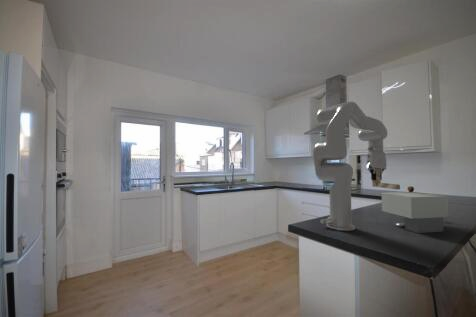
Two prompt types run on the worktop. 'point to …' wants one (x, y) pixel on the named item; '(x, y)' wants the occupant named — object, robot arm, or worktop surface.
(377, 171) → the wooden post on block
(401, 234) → the worktop surface
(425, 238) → the worktop surface
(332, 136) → the robot arm
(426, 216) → the grey block
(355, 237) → the worktop surface
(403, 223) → the grey shiny disc
